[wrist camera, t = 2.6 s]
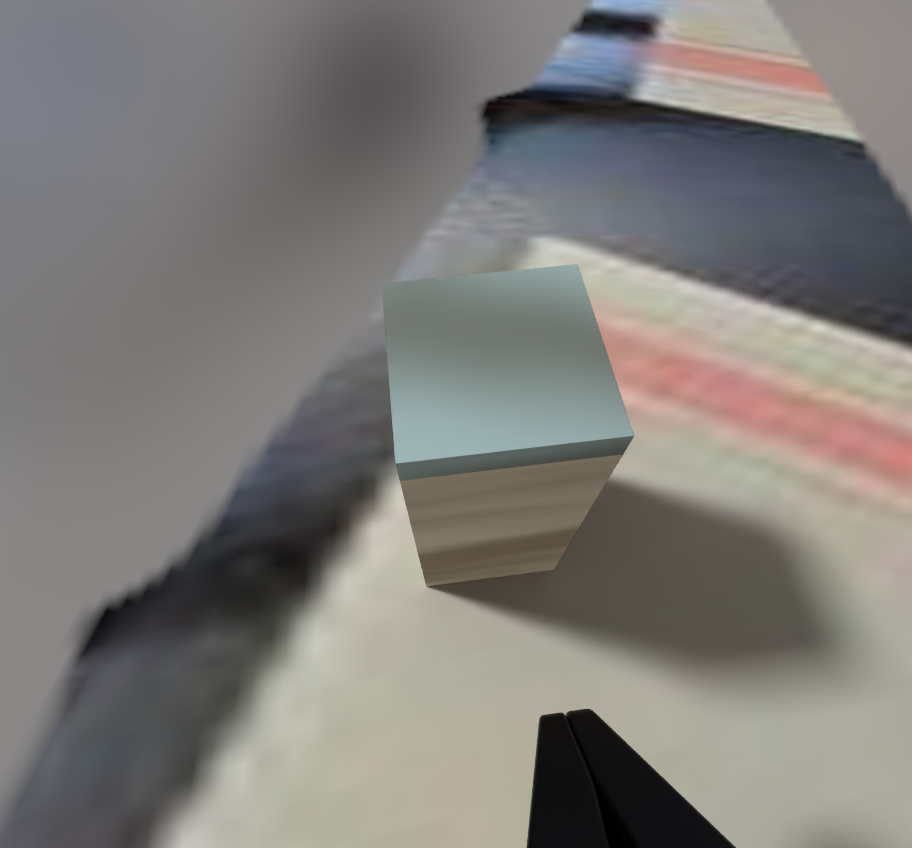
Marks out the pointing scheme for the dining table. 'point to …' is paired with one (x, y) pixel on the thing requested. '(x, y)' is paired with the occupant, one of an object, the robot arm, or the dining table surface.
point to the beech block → (499, 417)
